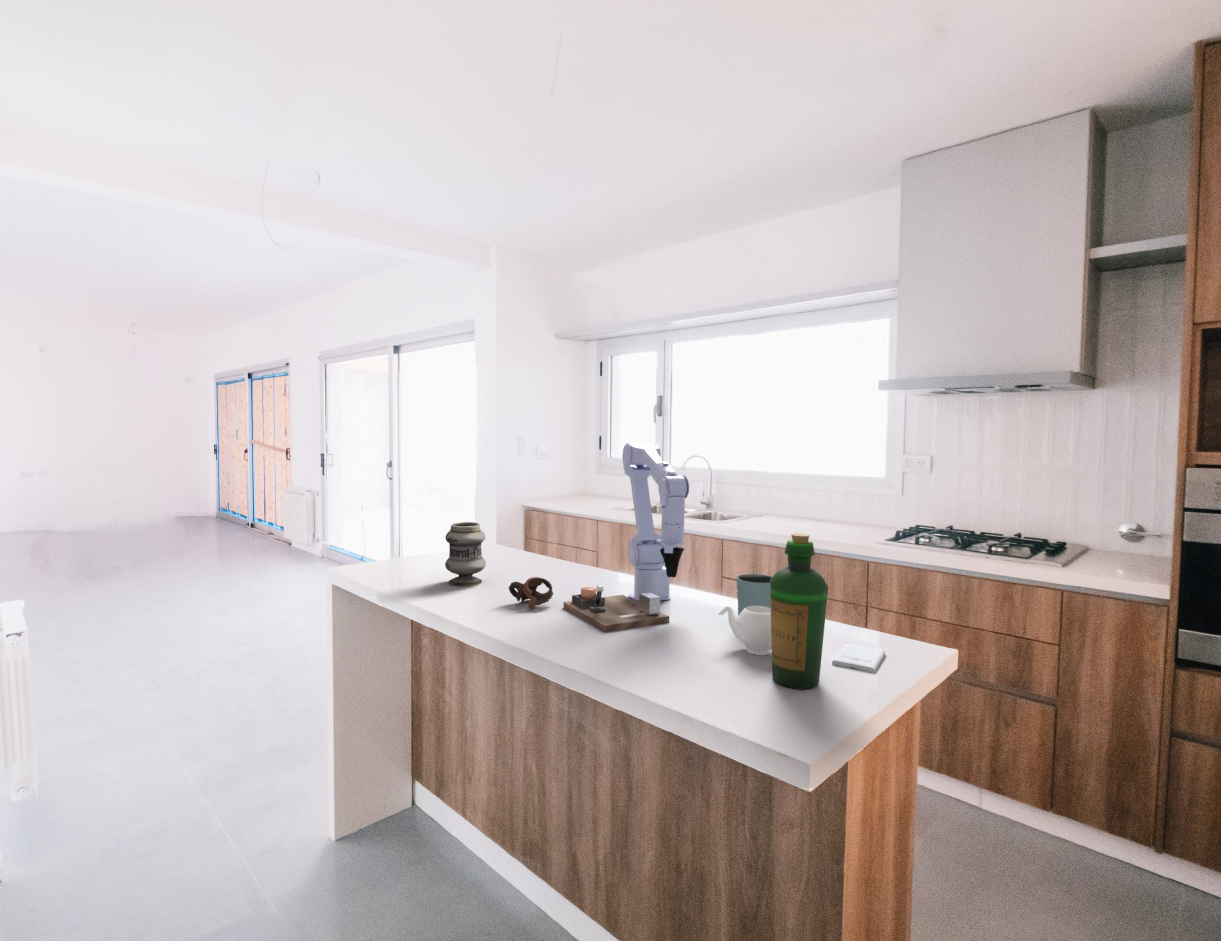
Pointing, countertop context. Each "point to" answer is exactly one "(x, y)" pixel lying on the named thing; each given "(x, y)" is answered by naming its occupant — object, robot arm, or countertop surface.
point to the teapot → (752, 628)
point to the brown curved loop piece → (531, 591)
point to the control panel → (613, 613)
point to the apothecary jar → (465, 553)
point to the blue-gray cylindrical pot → (753, 591)
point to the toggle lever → (598, 596)
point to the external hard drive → (859, 657)
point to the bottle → (797, 617)
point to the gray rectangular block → (649, 603)
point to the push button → (588, 593)
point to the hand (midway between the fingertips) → (671, 576)
